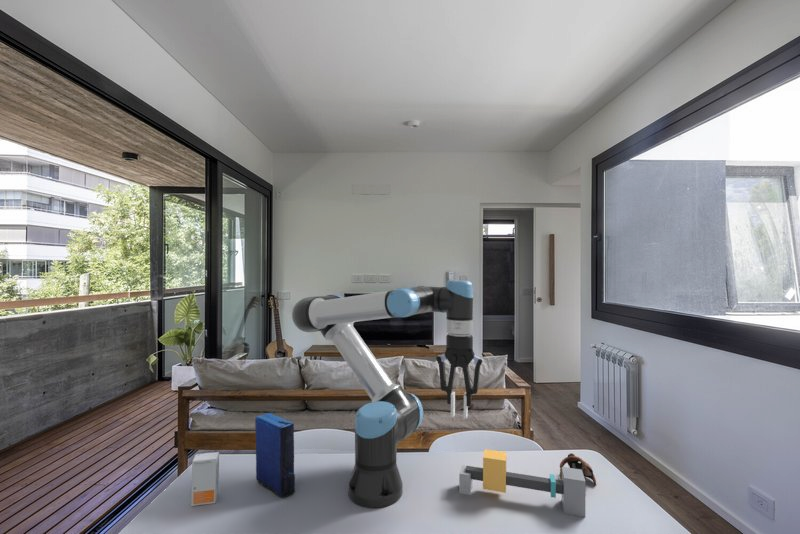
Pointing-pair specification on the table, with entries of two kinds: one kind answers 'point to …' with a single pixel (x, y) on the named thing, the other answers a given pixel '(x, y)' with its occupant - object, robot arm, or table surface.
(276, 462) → the book
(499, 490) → the sleeve
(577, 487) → the slider rail
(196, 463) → the skincare box
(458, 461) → the table surface
